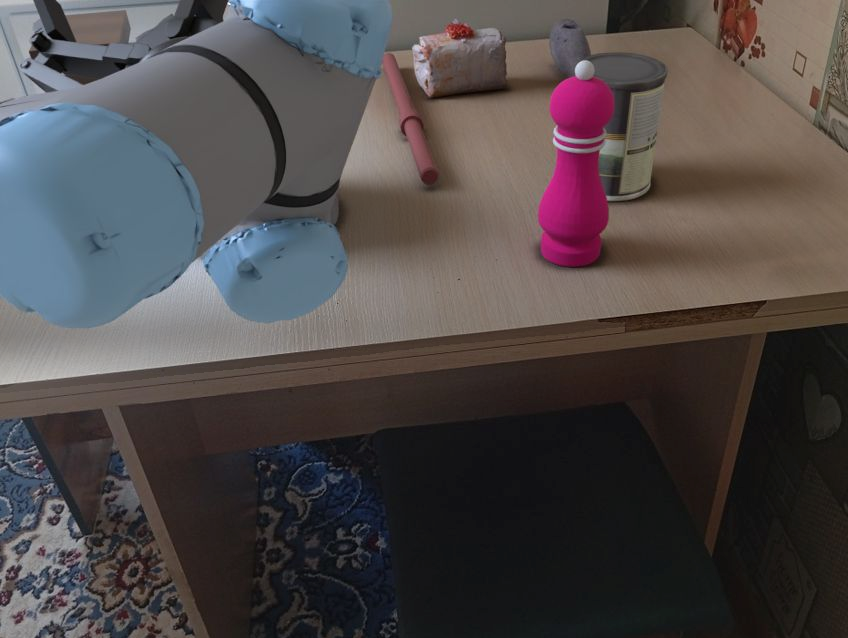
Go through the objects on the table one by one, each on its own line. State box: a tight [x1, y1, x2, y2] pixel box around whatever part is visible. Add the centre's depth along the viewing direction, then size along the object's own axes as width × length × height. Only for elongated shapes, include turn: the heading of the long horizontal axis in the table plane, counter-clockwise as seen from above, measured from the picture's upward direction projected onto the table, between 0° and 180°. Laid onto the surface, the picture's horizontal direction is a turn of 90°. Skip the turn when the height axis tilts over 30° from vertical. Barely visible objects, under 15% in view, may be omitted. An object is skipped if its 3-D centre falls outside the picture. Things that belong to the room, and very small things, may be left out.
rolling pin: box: [382, 52, 440, 186], centre depth 112 cm, size 45×3×3 cm, turn 11°
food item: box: [411, 18, 508, 98], centre depth 120 cm, size 14×8×10 cm, turn 105°
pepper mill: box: [537, 60, 614, 268], centre depth 77 cm, size 7×7×20 cm
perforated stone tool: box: [548, 18, 592, 79], centre depth 125 cm, size 15×5×7 cm, turn 6°
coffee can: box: [574, 51, 669, 202], centre depth 92 cm, size 10×10×14 cm
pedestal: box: [28, 9, 131, 85], centre depth 84 cm, size 12×8×21 cm, turn 16°
